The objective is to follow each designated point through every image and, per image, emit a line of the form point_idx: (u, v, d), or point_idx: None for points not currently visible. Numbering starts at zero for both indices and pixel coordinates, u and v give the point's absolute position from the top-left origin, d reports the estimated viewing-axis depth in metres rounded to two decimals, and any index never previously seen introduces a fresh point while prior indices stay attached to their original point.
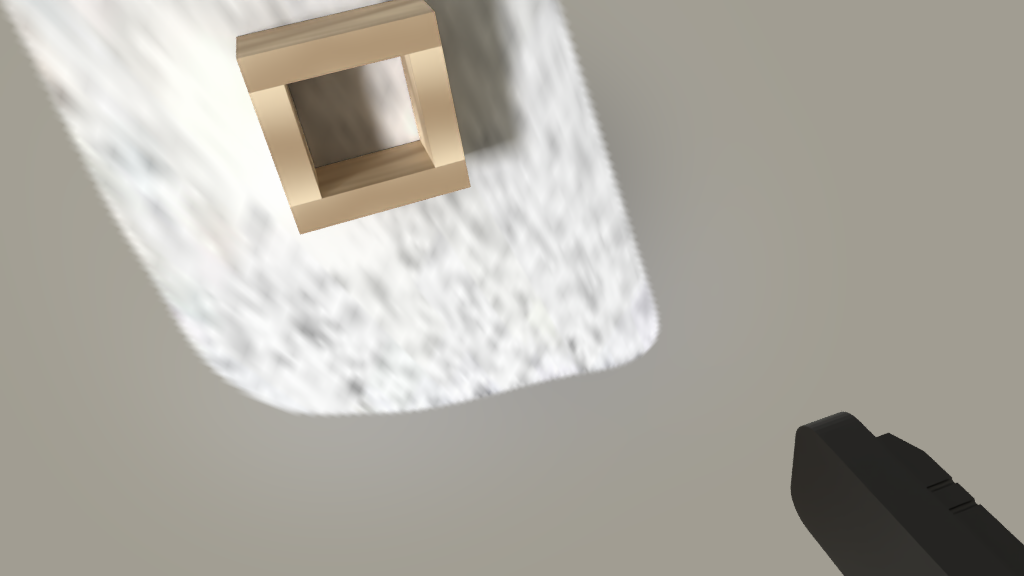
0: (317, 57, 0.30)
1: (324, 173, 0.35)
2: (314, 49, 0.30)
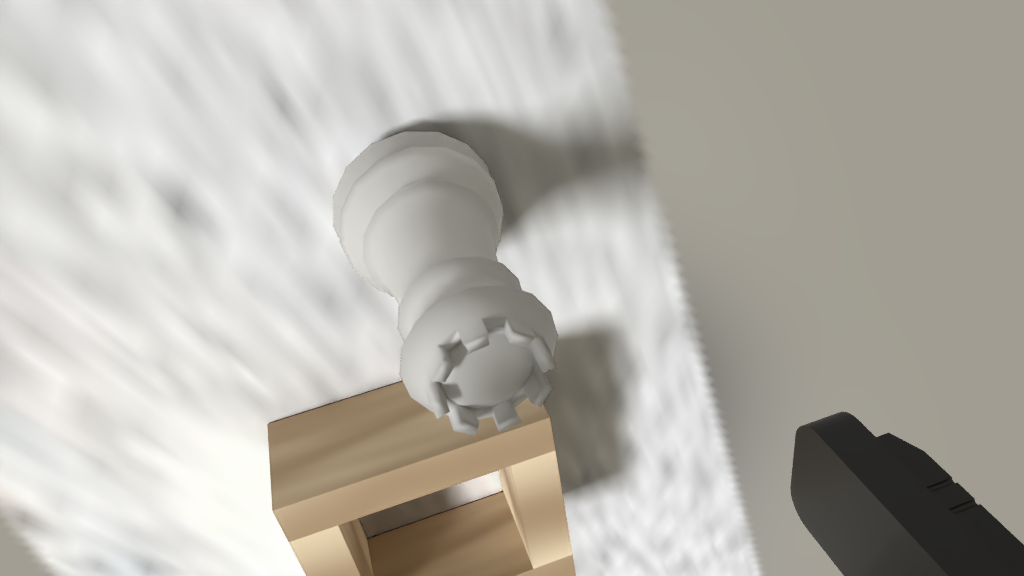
0: (385, 490, 0.21)
1: (381, 556, 0.27)
2: (382, 482, 0.21)
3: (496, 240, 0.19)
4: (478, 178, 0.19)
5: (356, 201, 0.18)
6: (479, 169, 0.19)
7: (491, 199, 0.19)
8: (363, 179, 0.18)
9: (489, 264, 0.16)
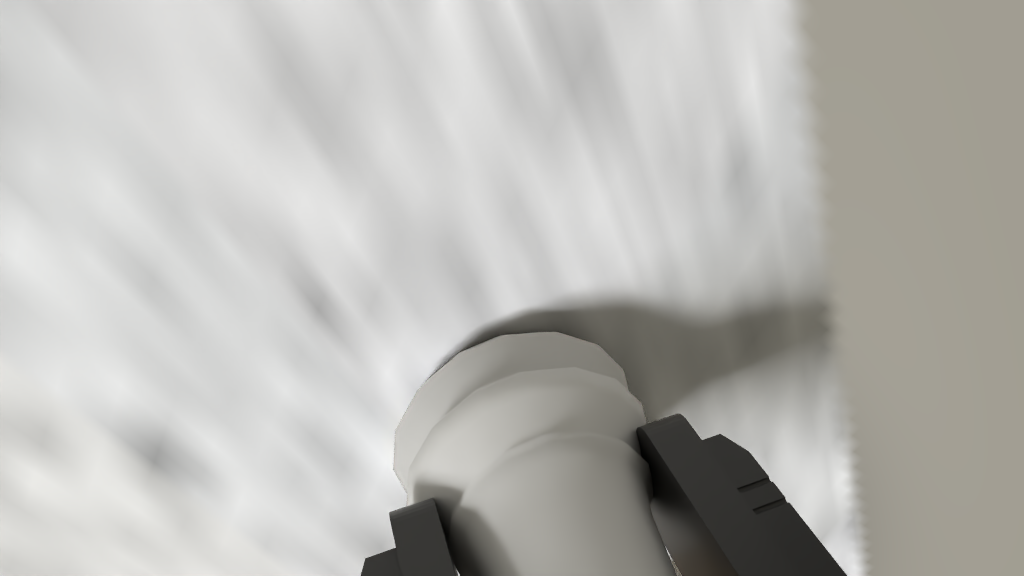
0: None
1: None
2: None
3: (650, 503, 0.12)
4: (626, 414, 0.12)
5: (438, 460, 0.11)
6: (626, 396, 0.12)
7: None
8: (449, 425, 0.11)
9: None
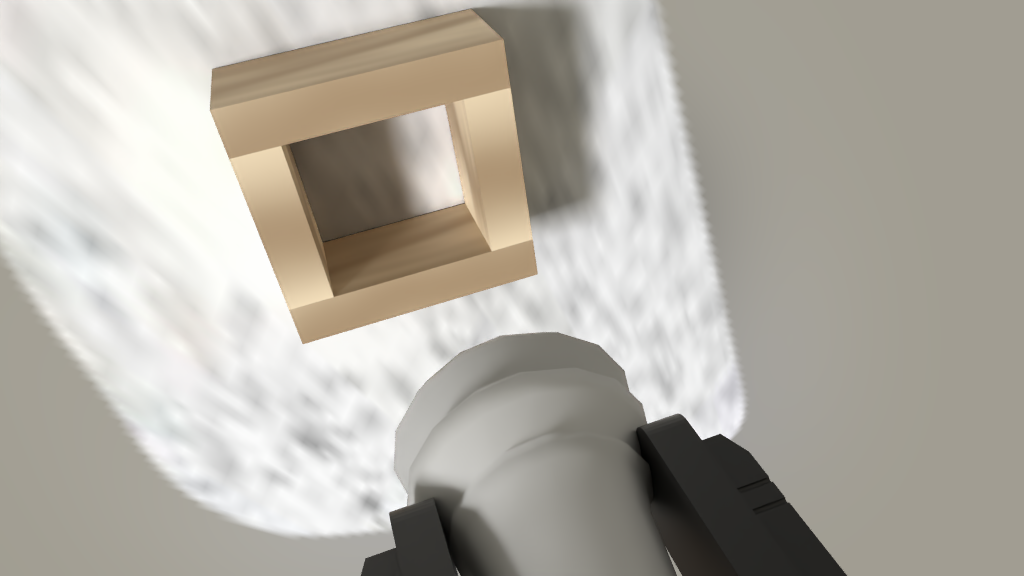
0: (330, 107, 0.20)
1: (336, 252, 0.26)
2: (326, 94, 0.20)
3: (650, 503, 0.12)
4: (626, 414, 0.12)
5: (438, 461, 0.12)
6: (626, 396, 0.12)
7: None
8: (449, 426, 0.11)
9: None
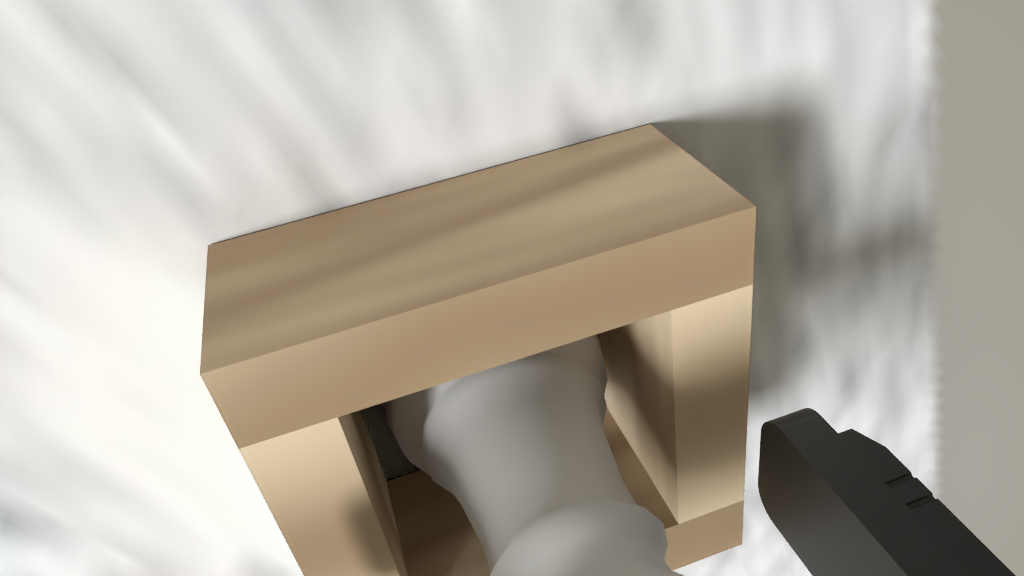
0: (433, 345, 0.11)
1: (411, 508, 0.16)
2: (428, 325, 0.10)
3: (602, 420, 0.14)
4: None
5: None
6: None
7: (596, 364, 0.14)
8: None
9: (626, 512, 0.10)
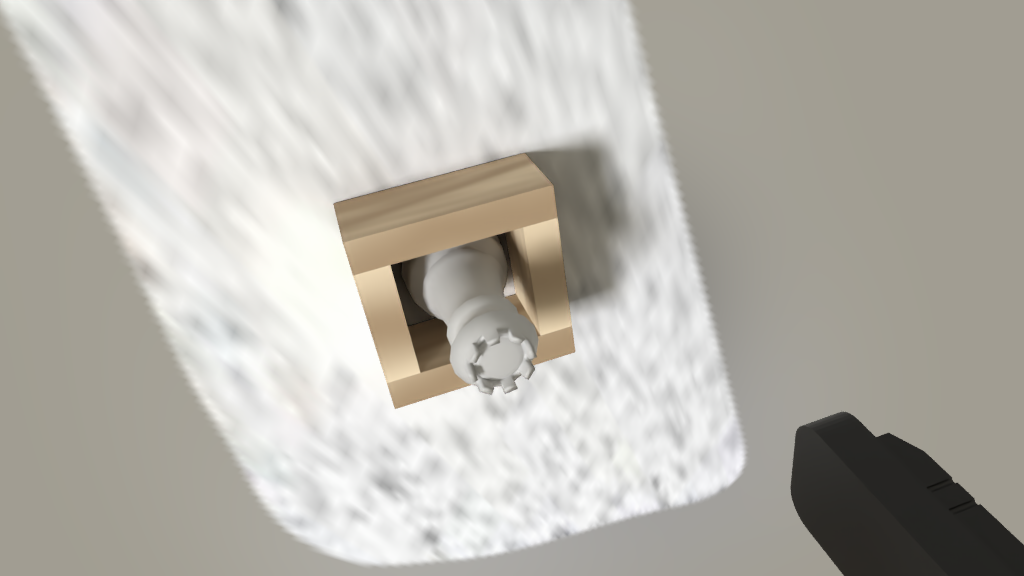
0: (427, 236, 0.28)
1: (417, 336, 0.33)
2: (425, 228, 0.28)
3: (503, 284, 0.31)
4: (493, 246, 0.31)
5: (419, 260, 0.30)
6: (493, 241, 0.31)
7: (500, 259, 0.31)
8: None
9: (499, 299, 0.28)
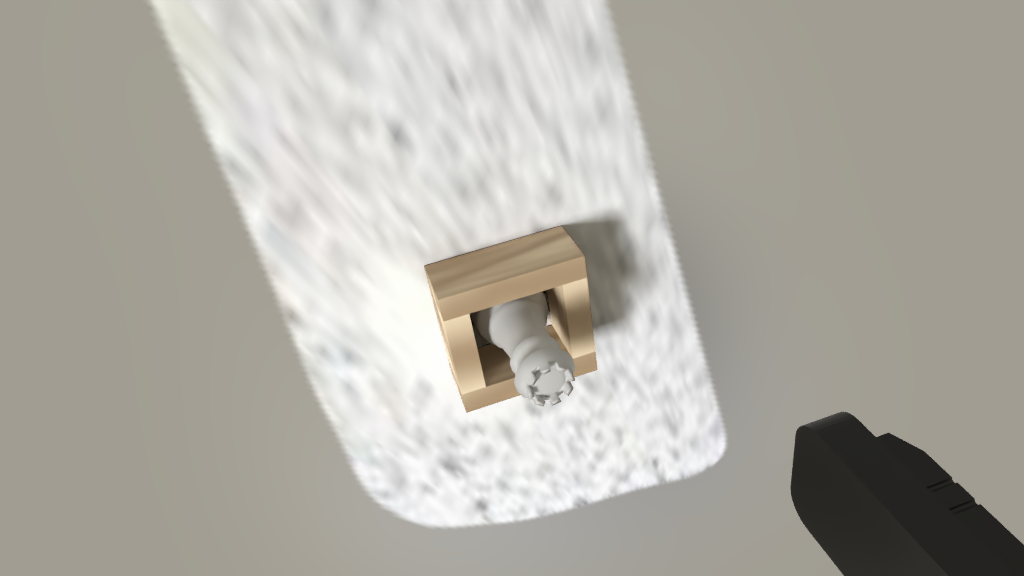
0: (495, 293, 0.39)
1: (480, 357, 0.44)
2: (494, 288, 0.39)
3: (546, 322, 0.43)
4: (538, 295, 0.42)
5: None
6: None
7: (544, 303, 0.42)
8: None
9: (547, 338, 0.39)
